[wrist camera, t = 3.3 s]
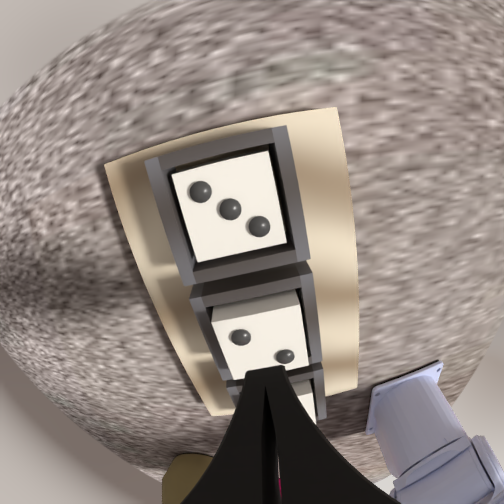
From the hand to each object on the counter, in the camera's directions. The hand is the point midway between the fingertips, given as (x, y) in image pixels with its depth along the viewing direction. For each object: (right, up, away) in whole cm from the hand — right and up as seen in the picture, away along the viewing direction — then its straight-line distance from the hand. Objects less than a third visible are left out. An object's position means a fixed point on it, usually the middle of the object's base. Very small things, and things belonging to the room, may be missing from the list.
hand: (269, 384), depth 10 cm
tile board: (0, +2, +8) cm, 8 cm away
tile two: (0, +1, +5) cm, 5 cm away
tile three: (-2, +7, +4) cm, 8 cm away
